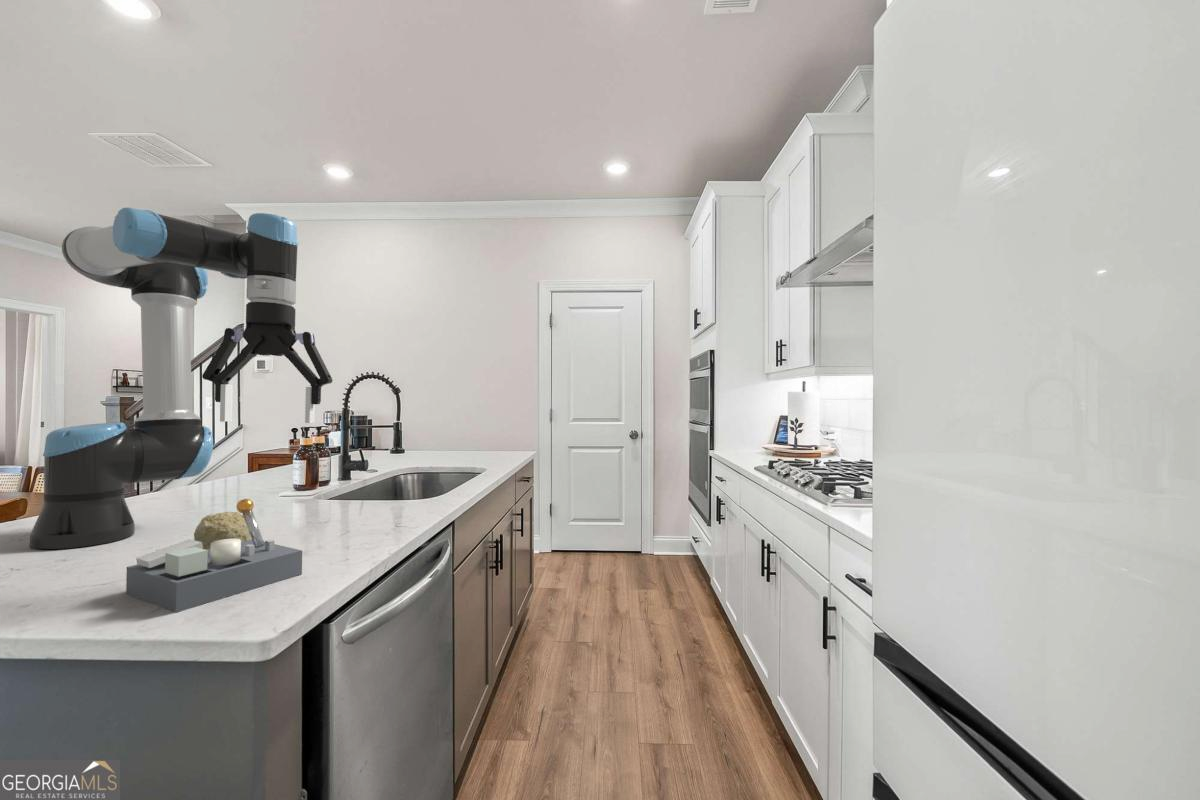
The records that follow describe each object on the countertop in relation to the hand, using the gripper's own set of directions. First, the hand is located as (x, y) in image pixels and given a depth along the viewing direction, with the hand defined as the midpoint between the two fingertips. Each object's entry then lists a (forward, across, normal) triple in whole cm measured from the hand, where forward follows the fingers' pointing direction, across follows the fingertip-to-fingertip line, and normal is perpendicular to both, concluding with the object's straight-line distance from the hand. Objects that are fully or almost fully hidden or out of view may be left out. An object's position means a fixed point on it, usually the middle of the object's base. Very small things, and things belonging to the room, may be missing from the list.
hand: (268, 422), depth 94 cm
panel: (+25, -2, -11) cm, 27 cm away
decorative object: (+26, -9, +6) cm, 28 cm away
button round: (+21, 0, -14) cm, 25 cm away
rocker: (+20, -8, -13) cm, 25 cm away
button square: (+21, -3, -18) cm, 28 cm away
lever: (+20, +2, -8) cm, 22 cm away
